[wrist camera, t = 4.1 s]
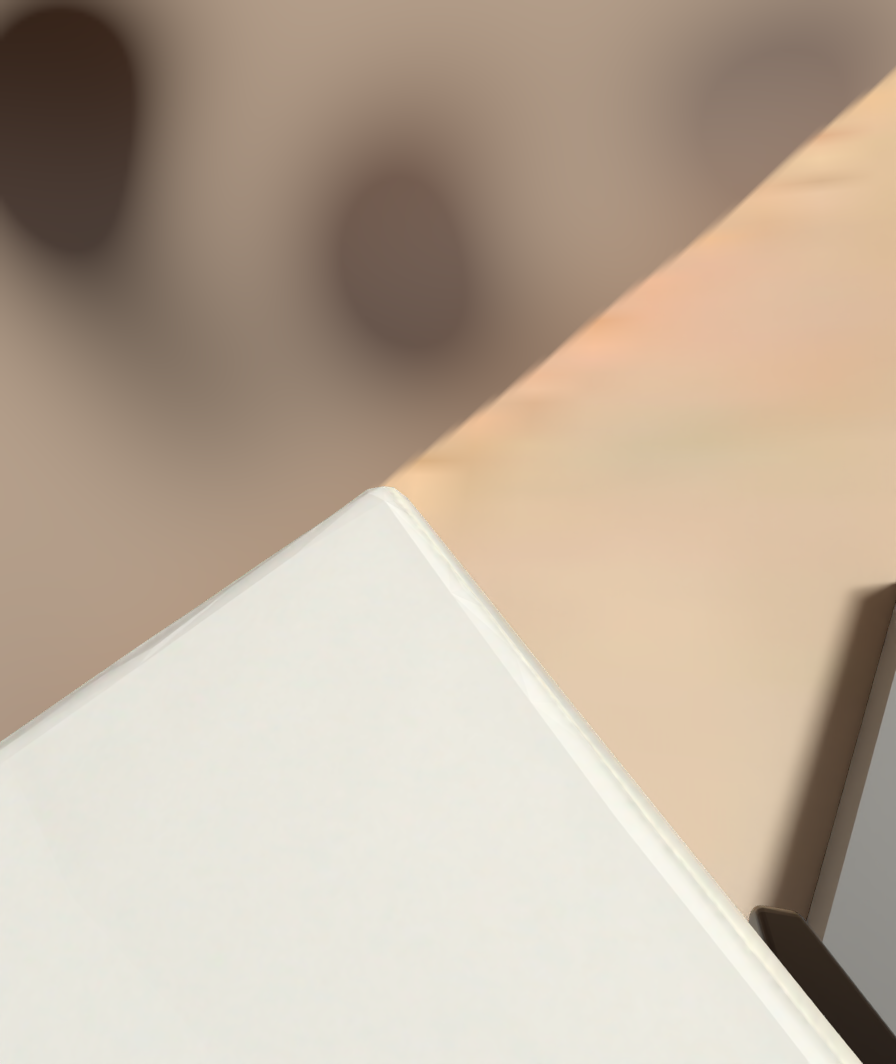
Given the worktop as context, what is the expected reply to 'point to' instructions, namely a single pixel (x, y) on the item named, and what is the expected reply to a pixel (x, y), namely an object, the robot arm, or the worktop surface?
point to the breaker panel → (866, 852)
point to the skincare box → (360, 846)
